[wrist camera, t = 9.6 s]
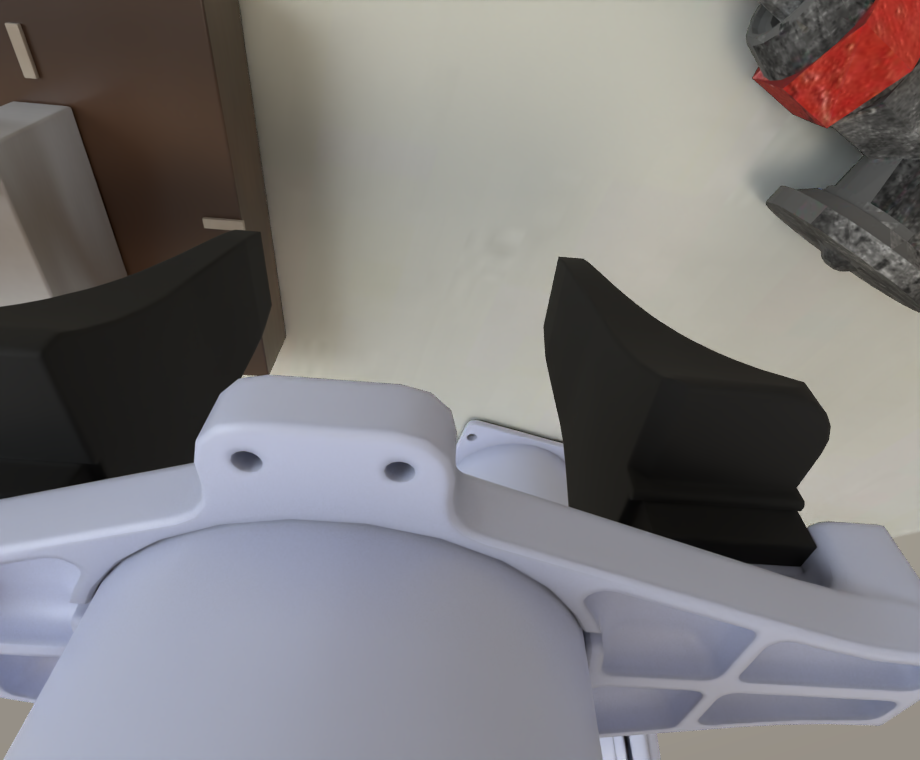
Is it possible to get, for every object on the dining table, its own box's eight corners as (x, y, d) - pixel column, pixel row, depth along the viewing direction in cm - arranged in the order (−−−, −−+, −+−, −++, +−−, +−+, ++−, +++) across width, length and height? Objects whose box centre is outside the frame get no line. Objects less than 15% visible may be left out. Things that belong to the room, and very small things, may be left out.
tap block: (288, 337, 26) (270, 379, 24) (46, 318, 26) (2, 360, 24) (238, -26, 18) (200, -17, 15) (-133, -64, 17) (-233, -61, 15)
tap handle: (136, 299, 22) (77, 367, 18) (89, 296, 22) (21, 363, 18) (71, 105, 17) (-22, 149, 14) (11, 100, 17) (-97, 143, 14)
